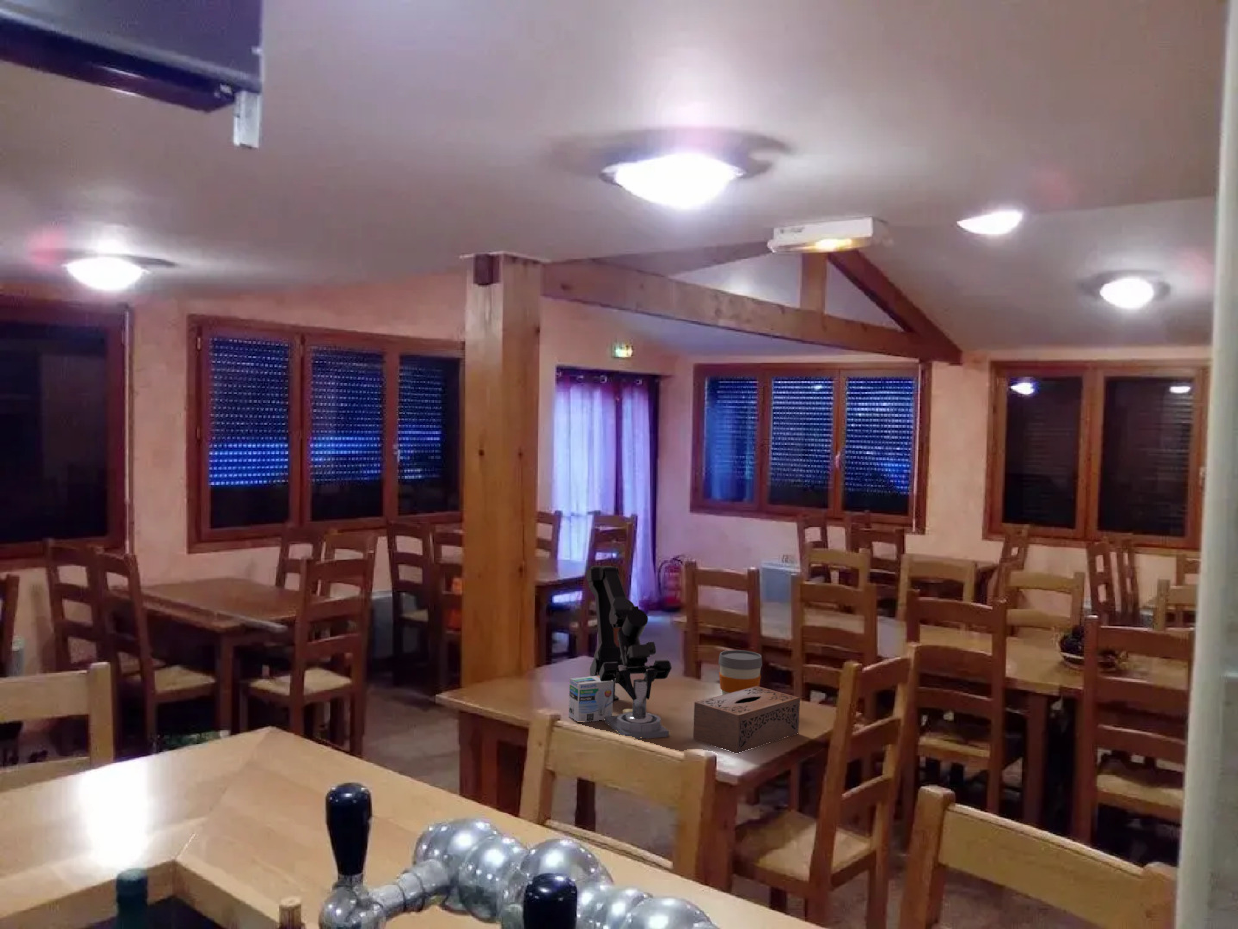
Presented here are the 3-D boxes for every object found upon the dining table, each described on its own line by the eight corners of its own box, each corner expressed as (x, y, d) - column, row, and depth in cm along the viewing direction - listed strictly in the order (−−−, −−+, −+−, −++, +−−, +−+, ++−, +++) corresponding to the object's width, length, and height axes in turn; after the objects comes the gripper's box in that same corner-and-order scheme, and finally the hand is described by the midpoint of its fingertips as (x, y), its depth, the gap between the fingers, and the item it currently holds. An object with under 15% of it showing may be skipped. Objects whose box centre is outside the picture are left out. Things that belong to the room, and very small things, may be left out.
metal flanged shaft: (625, 717, 268) (626, 677, 268) (651, 718, 269) (653, 678, 268) (625, 726, 262) (627, 684, 261) (652, 726, 262) (654, 685, 261)
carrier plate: (604, 722, 272) (604, 709, 272) (645, 718, 276) (646, 706, 276) (625, 740, 257) (625, 726, 257) (668, 736, 261) (669, 723, 261)
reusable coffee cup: (708, 705, 292) (710, 654, 291) (734, 697, 301) (735, 648, 300) (743, 715, 283) (745, 662, 282) (769, 706, 292) (771, 655, 292)
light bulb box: (577, 723, 270) (579, 684, 270) (567, 717, 276) (568, 678, 276) (613, 719, 275) (614, 680, 275) (602, 712, 281) (603, 674, 280)
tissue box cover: (755, 722, 278) (756, 686, 277) (798, 735, 268) (799, 697, 267) (693, 740, 260) (694, 702, 259) (736, 755, 250) (738, 715, 249)
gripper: (603, 632, 265) (613, 684, 255) (670, 630, 270) (683, 681, 260) (594, 654, 273) (604, 706, 263) (660, 652, 278) (671, 703, 268)
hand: (641, 699), depth 263 cm, fingers closed on metal flanged shaft, 4 cm apart
